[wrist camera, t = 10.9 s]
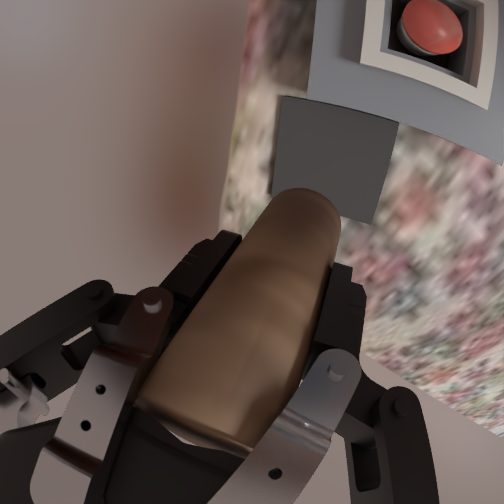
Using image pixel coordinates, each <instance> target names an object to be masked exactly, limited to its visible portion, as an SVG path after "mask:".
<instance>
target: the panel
mask: <svg viewBox="0 0 504 504" xmlns="http://www.w3.org/2000/svg"><path fill="white" fill-rule="evenodd" d="M398 1H402V2H405V3H409V2H410V1H412V0H398ZM437 1H440V2H441V3H443V4H445V5H446V6H447V7H448V8H450V9H451V10H452V11H453V13H454V14H455V15H456V16H457V18H458V20H459V22H460V24H461V27H462V32H463V37H462V42H461V44H460V46H459V47H458V48H457V49H456V50H454V51H453V52H450V55H449V63H448V69H445V68H442V67H440V66H437V65H435V64H432V63H430V62H427V61H424V60H421V59H419V58H416V57H413V56H410V55H407V54H404V53H400V52H397V51H394V50H390V49H388V42H389V33H390V23H391V11H392V0H317V4H316V15H315V26H314V35H313V45H312V54H311V63H310V72H309V80H308V88H307V96H306V99H310V100H316V101H321V102H326V103H330V104H335V105H339V106H344V107H348V108H352V109H356V110H360V111H364V112H367V113H371V114H375V115H378V116H381V117H385V118H388V119H391V120H394V121H398V122H401V123H404V124H407V125H410V126H412V127H415V128H418V129H421V130H424V131H426V132H429V133H432V134H434V135H437V136H439V137H442V138H444V139H446V140H449V141H451V142H454V143H456V144H458V145H460V146H463V147H465V148H467V149H469V150H471V151H473V152H476V153H478V154H480V155H482V156H484V157H486V158H488V159H490V160H492V161H493V162H495V163H497V164H499V165H501V166H502V164H503V161H504V0H437Z"/></svg>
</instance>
